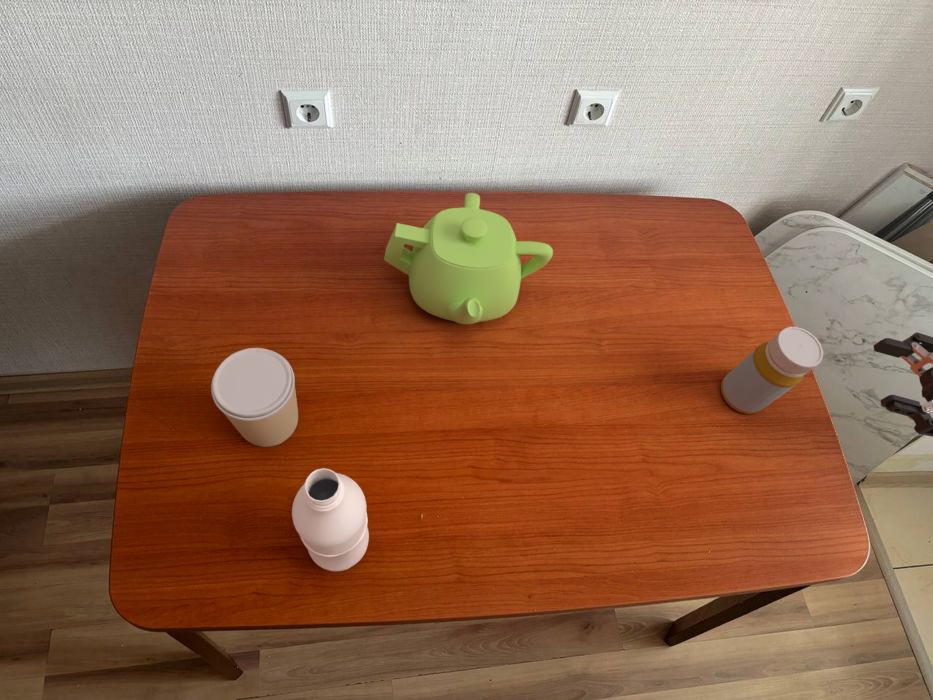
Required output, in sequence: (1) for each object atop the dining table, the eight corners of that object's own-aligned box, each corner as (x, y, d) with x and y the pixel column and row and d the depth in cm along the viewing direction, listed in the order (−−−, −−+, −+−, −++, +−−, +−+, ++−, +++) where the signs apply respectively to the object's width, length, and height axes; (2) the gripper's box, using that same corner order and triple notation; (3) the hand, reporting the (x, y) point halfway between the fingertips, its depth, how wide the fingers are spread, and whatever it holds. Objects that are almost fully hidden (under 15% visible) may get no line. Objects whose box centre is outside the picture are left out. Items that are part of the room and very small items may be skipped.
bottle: (736, 366, 93) (793, 314, 80) (771, 398, 91) (836, 351, 78) (709, 390, 90) (764, 341, 77) (745, 424, 88) (808, 379, 75)
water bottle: (324, 506, 74) (302, 434, 53) (378, 525, 74) (377, 461, 53) (299, 562, 71) (263, 509, 49) (355, 583, 71) (344, 539, 49)
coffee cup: (316, 401, 81) (307, 360, 71) (285, 463, 77) (270, 428, 66) (253, 379, 82) (234, 335, 71) (218, 439, 77) (193, 401, 67)
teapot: (466, 224, 100) (478, 159, 88) (548, 302, 94) (574, 245, 82) (377, 277, 93) (376, 214, 80) (461, 366, 87) (474, 314, 74)
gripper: (987, 463, 77) (866, 430, 78) (967, 370, 84) (856, 340, 85) (1042, 443, 71) (910, 407, 71) (1016, 345, 78) (895, 312, 78)
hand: (881, 371), depth 78 cm, fingers open, 8 cm apart
